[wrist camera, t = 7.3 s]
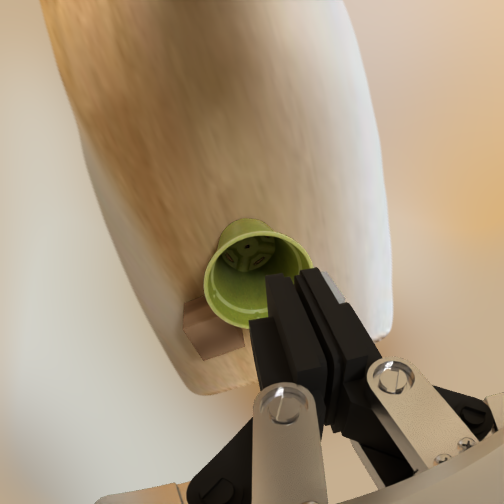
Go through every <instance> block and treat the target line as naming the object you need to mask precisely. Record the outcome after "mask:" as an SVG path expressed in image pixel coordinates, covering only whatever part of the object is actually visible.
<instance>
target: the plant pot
mask: <svg viewBox="0 0 504 504" xmlns="http://www.w3.org/2000/svg"><path fill="white" fill-rule="evenodd" d="M266 236H269V238H266ZM246 245H250V248H248V249H246V248H245V246H246ZM226 253H228V254H229V256H230V257H231V258H232V259H233V261H234V262H231V261H230V260H228V259H227V257H226ZM262 257H264V260H262V261H261V262H260V263H259V264H256V265H255V264H254V262H256V261H258V260H259V259H261V258H262ZM310 268H314V267H313V263H312V261H311V258H310V256H309V255H308V253H307V252H306V250H305V249H304V248H303V247H302V246H301V245H300V244H299V243H298V242H296V241H295V240H294V239H292V238H290V237H288V236H287V235H284V234H281V233H278V232H275V231H273V230H272V229H271V228H270V227H269V226H268V225H267V224H265V223H264V222H262V221H260V220H256V219H247V218H244V219H240V220H237V221H235V222H233V223H231V224H230V225H229V226H228V227H226V229H225V230H224V231H223V232H222V234H221V236H220V239H219V243H218V248H217V251H216V253H215V254H214V255H213V257H212V258H211V260H210V262H209V263H208V266H207V268H206V271H205V276H204V294H205V297H206V300H207V302H208V304H209V306H210V308H211V309H212V310H213V312H214V313H215V314H216V315H217V316H219V317H220V318H221V319H222V320H224V321H225V322H227V323H229V324H232V325H234V326H237V327H240V328H245V329H249V322H248V320H253V319H259V318H265V317H268V308H267V296H266V285H265V276H266V275H273V274H279V273H283V275H284V277H290V278H291V280H292V282H293V284H294V276H295V275H299V272H300V270H304V269H310Z"/></svg>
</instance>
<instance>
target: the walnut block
mask: <svg viewBox="0 0 504 504" xmlns="http://www.w3.org/2000/svg"><path fill="white" fill-rule="evenodd" d="M183 330H184V332H185V334H186V335H187V337H188V338H189V340H190V341H191V343H192V344H193V346H194V347H195V349H196V350H197V352H198V353H199V355H200V356H201V358H202V359H203V361H204V360H207V359H210V358H213V357H216V356H219V355H222V354H225V353H228V352H230V351H233V350H236V349H239V348H242V347H244V346H245V344H244V338H243V333H242V328H240V327H237V326H234V325H232V324H229V323H227V322H225V321H224V320H222V319H221V318H220V317H219V316H217V315H216V314H215V313H214V312H213V310H212V309H211V308H210V306H209V304H208V302H207V300H206V297H205V296H202V297H199V298H197V299H194V300H192V301H189V302H186V303H184V317H183Z"/></svg>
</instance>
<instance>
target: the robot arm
mask: <svg viewBox="0 0 504 504" xmlns="http://www.w3.org/2000/svg"><path fill="white" fill-rule="evenodd" d="M265 285H266V296H267V308H268V317H265V318H259V319H253V320H248V322H249V330H250V337H251V344H252V350H253V356H254V361H255V366H256V371H257V376H258V381H259V386H260V391H261V392H260V393H259V394H258V395H257V397H256V399H255V401H254V406H253V417H252V418H251V419H250V420H249V421H248V423H247V424H246V425H245V426H244V427H243V428H242V429H241V430H240V431H239V432H238V433H237V434H236V436H234V437H233V439H232V440H231V441H230V442H229V443H228V444H227V445H226V446H225V447H224V448H223V449H222V450H221V451H220V452H219V453H218V454H217V455H216V456H215V457H214V458H213V459H212V460H211V461H210V462H209V463H208V464H207V465H206V466H205V467H204V468H203V469H202V470H201V471H200V472H199V473H198V474H197V475H196V476H195V477H194V478H193V479H192V480H191V481H189V482H185V483H181V484H177V485H176V483H170V484H166V485H161V486H157V487H152V488H147V489H142V490H137V491H131V492H125V493H119V494H113V495H107V496H104V497H102V498H100V499H99V500H98V501H97V502H95V504H328V498H327V489H326V481H325V472H324V465H323V456H322V448H321V439H322V433H323V426H324V425H325V426H327V425H331V428H332V431H333V433H337V432H340V431H341V433H342V436H344V437H346V438H349V439H350V441H351V443H352V446H353V448H354V450H355V451H356V453H357V455H358V456H359V458H360V460H361V461H362V463H363V465H364V466H365V468H366V469H367V471H368V473H369V475H370V476H371V478H372V480H373V481H374V483H375V485H376V486H377V488H378V491H375V492H372V493H369V494H366V495H363V496H360V497H357V498H354V499H351V500H347V501H344V502H341V503H337V504H504V392H502V393H499V394H495V395H491V396H488V397H486V398H485V399H484V400H483V401H482V400H479V399H477V398H474V397H471V396H467V395H464V394H460V393H457V392H453V391H450V390H447V389H443V388H440V387H437V386H433V385H431V384H430V383H429V381H428V380H427V379H426V378H425V377H424V376H423V374H422V373H421V372H420V371H419V370H418V369H417V368H416V367H415V366H414V365H413V364H412V363H411V362H409V361H407V360H405V359H403V358H398V357H385V358H382V356H381V354H380V353H379V351H378V349H377V348H376V346H375V344H374V343H373V341H372V339H371V338H370V336H369V334H368V333H367V331H366V329H365V328H364V326H363V324H362V323H361V321H360V319H359V318H358V316H357V315H356V313H355V311H354V310H353V308H352V307H351V305H350V304H349V303H347V302H345V303H341V304H339V302H338V301H337V299H336V297H335V296H334V294H333V292H332V291H331V289H330V287H329V285H328V284H327V282H326V280H325V279H324V277H323V275H322V274H321V272H320V271H319V269H318V268H317V267H316V268H310V269H304V270H300V272H299V275H295V276H294V284H293V282H292V280H291V278H290V277H284V275H283V273H279V274H273V275H266V276H265Z"/></svg>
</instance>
